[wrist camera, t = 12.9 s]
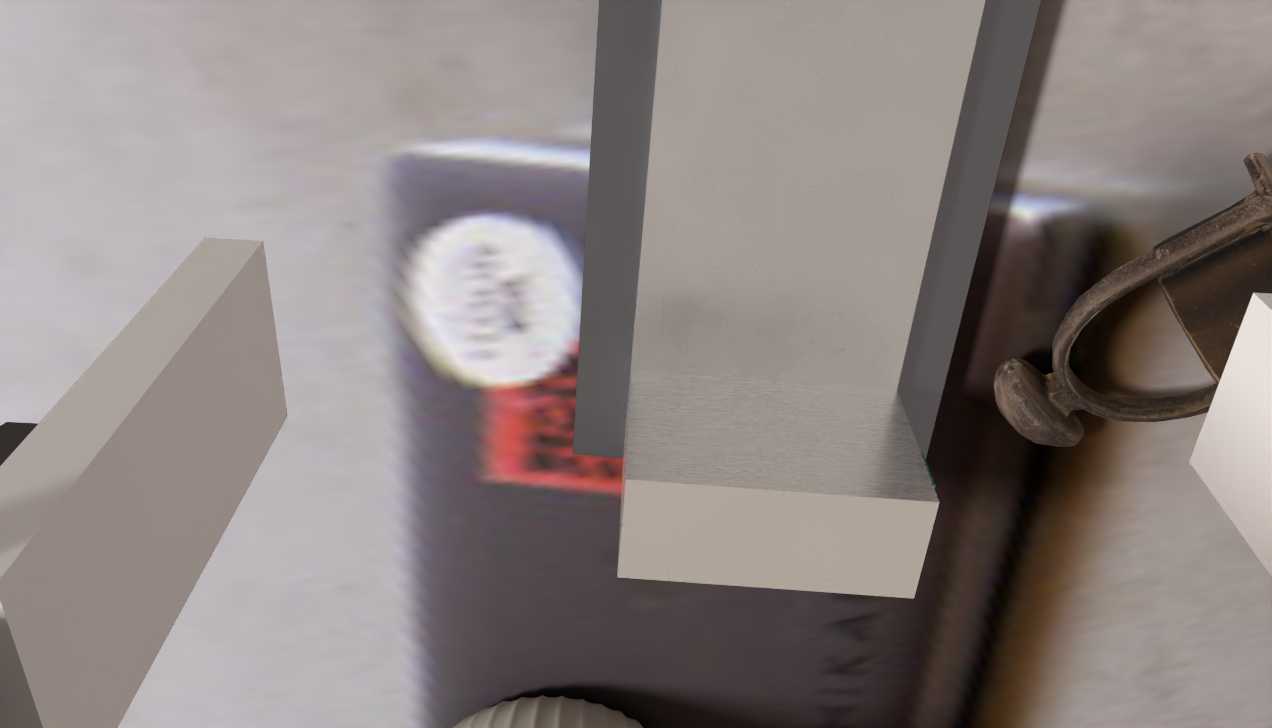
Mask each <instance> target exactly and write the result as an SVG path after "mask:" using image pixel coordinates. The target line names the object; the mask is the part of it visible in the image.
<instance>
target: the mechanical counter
mask: <svg viewBox="0 0 1272 728" xmlns="http://www.w3.org/2000/svg"><path fill="white" fill-rule="evenodd" d="M1243 161H1244V163H1245V165H1246V167H1247V170H1248V172H1249V174H1250V176H1251V179H1252V181H1253V183H1254V185H1255V187H1256V189H1255V191H1254V192H1253V193H1252V194H1250V195H1249V196H1247V197H1246V198H1244V199H1242V200H1241V201H1239V202H1237V203H1236V204H1234V205H1232V206H1231V207H1229V208H1227V209H1225V210H1223V211H1221V212H1219V213H1217V214H1215V215H1213V216H1211V217H1209V218H1207V219H1205V220H1203V221H1201V222H1200V223H1198V224H1196V225H1194V226H1192V227H1190V228H1188V229H1186V230H1184V231H1182V232H1180V233H1178V234H1176V235H1174V236H1172V237H1170V238H1168V239H1166V240H1165V241H1163V242H1161V243H1160V244H1158V245H1156V246H1154V247H1153V249H1152V251H1150V252H1148V253H1146V254H1144V255H1142V256H1140V257H1138V258H1136V259H1134V260H1132V261H1130V262H1129V263H1127V264H1125V265H1123V266H1121V267H1119V268H1117V269H1116V270H1114V271H1113V272H1112V273H1110V274H1109V275H1107V276H1106V277H1104V278H1103V279H1102V280H1100V281H1099V282H1098V283H1096V284H1095V285H1094V286H1093V287H1091V288H1090V289H1089V290H1087V291H1086V292H1085V293H1083V294H1082V295H1081V296H1080V297H1079V298H1078V299H1077V300H1076V302H1075V303H1074V304H1073V305H1072V307H1071V308H1070V309H1069V311H1068V313H1067V314H1066V316H1065V318H1064V319H1063V321H1062V322H1061V324H1060V327H1059V329H1058V331H1057V333H1056V335H1055V338H1054V340H1053V358H1052V367H1053V370H1054V372H1052V373H1050V374H1047V375H1044V374H1043V373H1041V372H1040V371H1039V370H1038V369H1036V368H1035V367H1034V366H1032V365H1031V364H1030V363H1028V362H1027V361H1025V360H1023V359H1021V358H1018V357H1011V358H1010V359H1008V360H1006V361H1005V362H1003V363H1002V364H1001V365H1000V367H999V368H998V370H997V371H996V374H995V380H994V390H995V398H996V403H997V405H998V408H999V411H1000V412H1001V414H1002V415H1003V416H1004V417H1005V419H1006V420H1007V421H1008V422H1009V423H1010V424H1011V425H1012V426H1013V427H1014V429H1015V430H1016V431H1017V432H1018V433H1019V434H1021V435H1022V436H1024V437H1026V438H1027V439H1029V440H1031V441H1033V442H1034V443H1037V444H1043V445H1050V446H1057V447H1071V446H1074V445H1076V444H1078V442H1079V441H1080V440H1081V438H1082V437H1083V436H1084V427H1083V426H1082V424H1081V423H1080V421H1079V419H1078V418H1077V416H1076V415H1075V413H1074V412H1073V411H1074V410H1080V409H1084V410H1086V411H1088V412H1090V413H1091V414H1094V415H1097V416H1101V417H1104V418H1108V419H1111V420H1114V421H1132V422H1158V421H1166V420H1173V419H1180V418H1186V417H1191V416H1195V415H1199V414H1203V413H1207V412H1208V411H1209V408H1210V406H1211V403H1212V400H1213V398H1214V395H1215V392H1216V390H1217V387H1218V385H1219V382H1220V379H1221V377H1222V374H1223V371H1224V369H1225V366H1226V363H1227V361H1228V358H1229V355H1230V353H1231V350H1232V348H1233V345H1234V342H1235V340H1236V337H1237V334H1238V332H1239V329H1240V326H1241V324H1242V321H1243V318H1244V316H1245V313H1246V310H1247V308H1248V305H1249V303H1250V300H1251V297H1252V295H1253V293H1270V294H1272V166H1271V165H1270V163H1269V162H1268V160H1267V159H1266V158H1265V156H1264V155H1263V154H1262V153H1254V154H1250V155H1248V156H1247V157H1246V158H1245V159H1244V160H1243ZM1155 278H1157V280H1158V282H1159V284H1160V286H1161V287H1162V289H1163V292H1164V295H1165V298H1166V300H1167V302H1168V304H1169V306H1170V308H1171V309H1172V311H1173V313H1174V315H1175V317H1176V318H1177V320H1178V322H1179V323H1180V325H1181V327H1182V328H1183V330H1184V332H1185V334H1186V335H1187V337H1188V339H1189V341H1190V342H1191V344H1192V346H1193V347H1194V349H1195V351H1196V352H1197V354H1198V355H1199V357H1200V359H1201V361H1202V363H1203V364H1204V366H1205V368H1206V369H1207V371H1208V372H1209V373H1210V375H1211V376H1212V378H1213V379H1214V380H1215V382H1216V383H1217V384H1214V385H1212V386H1210V387H1208V388H1205V389H1202V390H1199V391H1196V392H1193V393H1190V394H1188V395H1182V396H1174V397H1167V398H1121V397H1115V396H1111V395H1107V394H1104V393H1100V392H1097V391H1095V390H1093V389H1091V388H1089V387H1088V386H1086V385H1084V384H1083V383H1082V382H1081V381H1080V380H1079V379H1078V378H1077V377H1076V376H1075V374H1074V373H1073V371H1072V370H1071V368H1070V367H1069V363H1068V360H1069V354H1070V348H1071V346H1072V344H1073V343H1074V341H1075V340H1076V338H1077V336H1078V335H1079V333H1080V331H1081V330H1082V328H1083V327H1084V326H1085V325H1086V324H1087V323H1088V322H1089V321H1090V320H1091V319H1092V318H1093V317H1094V316H1095V315H1096V314H1097V313H1099V312H1100V311H1101V310H1102V309H1103V308H1104V307H1106V306H1107V305H1108V304H1110V303H1112V302H1113V301H1115V300H1117V299H1118V298H1120V297H1121V296H1123V295H1125V294H1127V293H1128V292H1130V291H1132V290H1134V289H1136V288H1138V287H1140V286H1142V285H1143V284H1145V283H1147V282H1149V281H1151V280H1153V279H1155Z"/></svg>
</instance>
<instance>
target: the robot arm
mask: <svg viewBox="0 0 1272 728" xmlns="http://www.w3.org/2000/svg"><path fill="white" fill-rule="evenodd" d="M286 417H287V408H286V401H285V394H284V387H283V380H282V373H281V366H280V358H279V351H278V344H277V337H276V330H275V323H274V316H273V308H272V301H271V294H270V287H269V280H268V273H267V266H266V258H265V251H264V244H263V241H253V240H234V239H215V238H205V239H204V240H203V241H202V242H201V243H200V244H199V245H198V246H197V247H196V249H195V250H194V251H193V252H192V253H191V254H190V255H189V256H188V257H187V259H186V260H185V261H184V262H183V263H182V264H181V265H180V266H179V268H178V269H177V270H176V271H175V272H174V273H173V274H172V275H171V276H170V278H169V279H168V280H167V281H166V282H165V283H164V284H163V285H162V286H161V288H160V289H159V290H158V291H157V292H156V293H155V294H154V295H153V297H152V298H151V299H150V300H149V301H148V302H147V303H146V304H145V305H144V307H143V308H142V309H141V310H140V311H139V312H138V313H137V314H136V315H135V317H134V318H133V319H132V320H131V321H130V322H129V323H128V324H127V326H126V327H125V328H124V329H123V330H122V331H121V332H120V333H119V334H118V336H117V337H116V338H115V339H114V340H113V341H112V342H111V343H110V344H109V346H108V347H107V348H106V349H105V350H104V351H103V352H102V353H101V355H100V356H99V357H98V358H97V359H96V360H95V361H94V362H93V363H92V365H91V366H90V367H89V368H88V369H87V370H86V371H85V372H84V373H83V375H82V376H81V377H80V378H79V379H78V380H77V381H76V382H75V383H74V385H73V386H72V387H71V388H70V389H69V390H68V391H67V392H66V394H65V395H64V396H63V397H62V398H61V399H60V400H59V401H58V402H57V404H56V405H55V406H54V407H53V408H52V409H51V410H50V411H49V412H48V414H47V415H46V416H45V417H44V418H43V419H42V420H41V421H40V423H39V424H34V423H14V422H6V423H5V424H3V425H1V426H0V728H117V727H118V726H119V724H120V722H121V720H122V718H123V716H124V715H125V713H126V711H127V709H128V707H129V705H130V704H131V702H132V700H133V698H134V696H135V694H136V693H137V691H138V689H139V687H140V685H141V683H142V682H143V680H144V678H145V676H146V674H147V672H148V671H149V669H150V667H151V665H152V663H153V661H154V660H155V658H156V656H157V654H158V652H159V650H160V648H161V647H162V645H163V643H164V641H165V639H166V637H167V636H168V634H169V632H170V630H171V628H172V626H173V625H174V623H175V621H176V619H177V617H178V615H179V614H180V612H181V610H182V608H183V606H184V604H185V603H186V601H187V599H188V597H189V595H190V593H191V592H192V590H193V588H194V586H195V584H196V582H197V581H198V579H199V577H200V575H201V573H202V571H203V570H204V568H205V566H206V564H207V562H208V560H209V559H210V557H211V555H212V553H213V551H214V549H215V548H216V546H217V544H218V542H219V540H220V538H221V537H222V535H223V533H224V531H225V529H226V527H227V526H228V524H229V522H230V520H231V518H232V516H233V515H234V513H235V511H236V509H237V507H238V505H239V504H240V502H241V500H242V498H243V496H244V494H245V493H246V491H247V489H248V487H249V485H250V483H251V482H252V480H253V478H254V476H255V474H256V472H257V471H258V469H259V467H260V465H261V463H262V461H263V460H264V458H265V456H266V454H267V452H268V450H269V449H270V447H271V445H272V443H273V441H274V439H275V438H276V436H277V434H278V432H279V430H280V428H281V427H282V425H283V423H284V421H285V419H286ZM1189 462H1190V463H1191V465H1192V466H1193V468H1194V469H1195V470H1196V472H1197V473H1198V475H1199V476H1200V477H1201V479H1202V480H1203V482H1204V483H1205V484H1206V486H1207V487H1208V489H1209V490H1210V491H1211V493H1212V494H1213V496H1214V497H1215V498H1216V500H1217V501H1218V503H1219V504H1220V505H1221V507H1222V508H1223V510H1224V511H1225V512H1226V514H1227V515H1228V516H1229V518H1230V519H1231V521H1232V522H1233V523H1234V525H1235V526H1236V528H1237V529H1238V530H1239V532H1240V533H1241V535H1242V536H1243V537H1244V539H1245V540H1246V542H1247V543H1248V544H1249V546H1250V547H1251V549H1252V550H1253V551H1254V553H1255V554H1256V556H1257V557H1258V558H1259V560H1260V561H1261V563H1262V564H1263V565H1264V567H1265V568H1266V569H1267V571H1268V572H1269V574H1270V575H1271V576H1272V294H1270V293H1253V295H1252V297H1251V300H1250V303H1249V305H1248V308H1247V310H1246V313H1245V316H1244V318H1243V321H1242V324H1241V326H1240V329H1239V332H1238V334H1237V337H1236V340H1235V342H1234V345H1233V348H1232V350H1231V353H1230V355H1229V358H1228V361H1227V363H1226V366H1225V369H1224V371H1223V374H1222V377H1221V379H1220V382H1219V385H1218V387H1217V390H1216V392H1215V395H1214V398H1213V400H1212V403H1211V406H1210V408H1209V411H1208V414H1207V416H1206V419H1205V422H1204V424H1203V427H1202V430H1201V432H1200V435H1199V437H1198V440H1197V443H1196V445H1195V448H1194V451H1193V453H1192V456H1191V459H1190V461H1189Z"/></svg>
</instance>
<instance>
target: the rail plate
mask: <svg viewBox="0 0 1272 728" xmlns="http://www.w3.org/2000/svg"><path fill="white" fill-rule="evenodd" d="M1040 3H1041V0H599V14H598V31H597V48H596V66H595V83H594V100H593V117H592V135H591V152H590V169H589V186H588V203H587V221H586V238H585V255H584V272H583V289H582V307H581V324H580V341H579V358H578V375H577V393H576V410H575V427H574V444H573V454H577V455H590V456H604V457H617V458H623V473H622V493H621V514H620V534H619V554H618V574H617V577H621V578H635V579H649V580H663V581H677V582H691V583H705V584H719V585H733V586H747V587H761V588H775V589H789V590H803V591H817V592H831V593H845V594H859V595H873V596H887V597H901V598H914V596H915V593H916V589H917V585H918V581H919V577H920V574H921V570H922V566H923V562H924V559H925V555H926V551H927V547H928V544H929V540H930V536H931V532H932V528H933V525H934V521H935V517H936V513H937V510H938V506H939V500H938V497H937V495H936V492H935V483H934V480H933V478H932V475H931V473H930V470H929V467H928V465H927V462H926V456H927V452H928V448H929V445H930V441H931V437H932V433H933V429H934V425H935V421H936V417H937V413H938V409H939V405H940V401H941V397H942V393H943V389H944V385H945V381H946V377H947V373H948V369H949V365H950V361H951V357H952V353H953V349H954V345H955V341H956V337H957V333H958V329H959V325H960V321H961V317H962V313H963V309H964V305H965V301H966V297H967V293H968V289H969V285H970V281H971V277H972V273H973V270H974V266H975V262H976V258H977V254H978V250H979V246H980V242H981V238H982V234H983V230H984V226H985V222H986V218H987V214H988V210H989V206H990V202H991V198H992V194H993V190H994V186H995V182H996V178H997V174H998V170H999V166H1000V162H1001V158H1002V154H1003V150H1004V146H1005V142H1006V138H1007V134H1008V130H1009V126H1010V122H1011V118H1012V114H1013V110H1014V106H1015V102H1016V98H1017V95H1018V91H1019V87H1020V83H1021V79H1022V75H1023V71H1024V67H1025V63H1026V59H1027V55H1028V51H1029V47H1030V43H1031V39H1032V35H1033V31H1034V27H1035V23H1036V19H1037V15H1038V11H1039V7H1040Z"/></svg>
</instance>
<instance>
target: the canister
mask: <svg viewBox="0 0 1272 728" xmlns="http://www.w3.org/2000/svg"><path fill="white" fill-rule="evenodd" d="M451 728H643V727H642V726H641V724H640V723H639V722H638V721H636V720H635V719H630V718H627V717H626V716H624V714H623V713H622V712H620V711H617V710H611V709H609V708H607V707H605V706H604V705H602V704H594V703H590V702H587V701H585V700H584V699H570V698H566V697H564V696H560V697H546V696H543V695H542V696H540V697H535V698H526V697H521V698H519V699H518V700H515V701H502V702H500V703H499V704H497V705H495V706H492V707H485V708H482V709H481V710H480V711H479V712H477V713H476V714H472V715H469V716H467V717H465V718H464V719H462V720H461V722H460V723H459V724H457V725H455V726H453V727H451Z"/></svg>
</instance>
